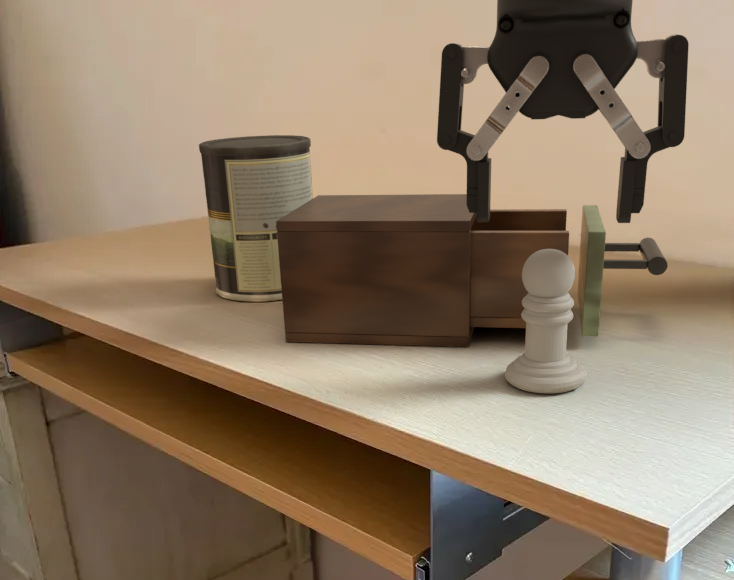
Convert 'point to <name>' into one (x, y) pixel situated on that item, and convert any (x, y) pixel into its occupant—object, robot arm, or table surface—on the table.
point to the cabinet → (377, 270)
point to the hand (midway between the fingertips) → (552, 220)
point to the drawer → (528, 235)
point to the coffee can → (252, 208)
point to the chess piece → (546, 326)
